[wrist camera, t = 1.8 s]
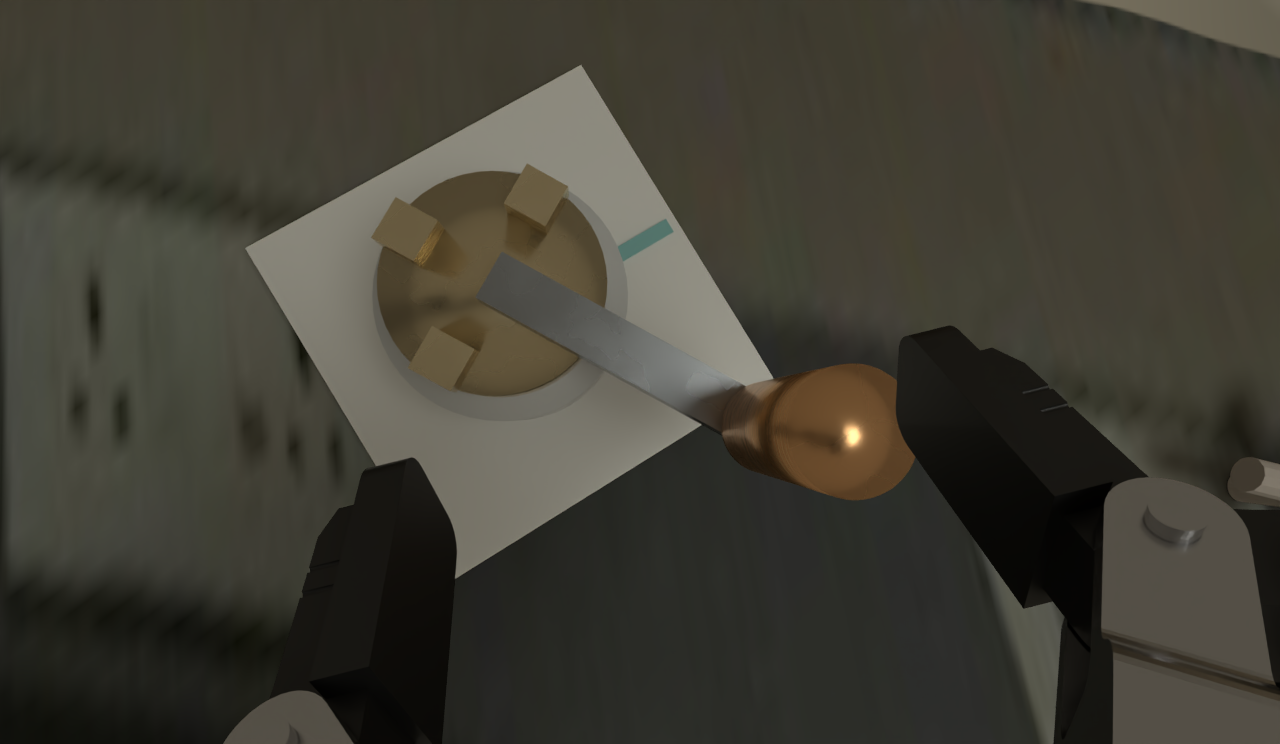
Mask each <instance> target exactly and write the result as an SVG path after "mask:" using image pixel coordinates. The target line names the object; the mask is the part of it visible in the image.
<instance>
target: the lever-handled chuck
mask: <svg viewBox="0 0 1280 744" xmlns="http://www.w3.org/2000/svg"><path fill="white" fill-rule="evenodd" d="M568 197H569V191H568V186H567V185H565V184H563V183H561V182H559V181H558V180H556V179H554V178H552V177H551V176H549V175H547V174H545V173H543V172H542V171H540V170H538V169H536V168H534V167H533V166H531V165H529V164H526V166H525V167H524V169H523V171H522V173H521V174H516V173H511V172H503V171H480V172H473V173H468V174H462V175H459V176H456V177H453V178H450V179H447V180H445V181H443V182H441V183H439V184H437V185H435V186H433V187H432V188H430V189H429V190H427V191H425V192H424V193H422V194H421V195H420V196H419V197H418V198H416V199H415V200H414V201H413V202H412V203H411V204H410V205H409V204H408V203H406V202H404V201H402V200H400V199H399V198H397V197H395V199H394V200H393V202H392V204H391V205H390V207H389V209H388V210H387V212H386V214H385V215H384V217H383V219H382V220H381V222H380V223H379V225H378V227H377V228H376V230H375V232H374V233H373V235H372V237H371V238H372V239H373V240H374V241H376V242H377V243H378V244H379V245H380V246H382V247H383V248H382V251H381V255H380V259H379V264H378V271H377V295H378V302H379V307H380V311H381V315H382V318H383V320H384V323H385V326H386V328H387V330H388V332H389V334H390V336H391V338H392V340H393V341H394V343H395V344H396V346H397V347H398V348H399V350H400V351H401V353H402V354H403V355H404V356H405V357H406V358H407V359H408V360H409V361H410V362H411V363H410V364H409V366H408V369H410V370H412V371H414V372H416V373H418V374H419V375H421V376H423V377H425V378H427V379H429V380H431V381H432V382H434V383H436V384H438V385H440V386H442V387H443V388H445V389H447V390H449V391H451V392H456V393H457V391H458V390H459V391H462V392H465V393H470V394H474V395H480V396H486V397H502V398H503V397H514V396H520V395H525V394H529V393H532V392H535V391H538V390H541V389H543V388H545V387H547V386H549V385H551V384H553V383H555V382H556V381H558V380H559V379H561V378H562V377H564V376H565V375H567V374H568V373H569V372H570V371H571V370H572V369H573V368H574V367H575V366H577V364H578V363H579V362H580V361H581V360H582V359H583V360H585V361H587V362H588V363H590V364H592V365H594V366H596V367H597V368H599V369H601V370H603V371H605V372H607V373H608V374H610V375H612V376H614V377H616V378H618V379H619V380H621V381H623V382H625V383H627V384H629V385H630V386H632V387H634V388H636V389H638V390H639V391H641V392H643V393H645V394H647V395H649V396H650V397H652V398H654V399H656V400H658V401H660V402H661V403H663V404H665V405H667V406H669V407H670V408H672V409H674V410H676V411H678V412H680V413H681V414H683V415H685V416H687V417H689V418H691V419H692V420H694V421H696V422H698V423H700V424H702V425H703V426H705V427H707V428H709V429H711V430H712V431H714V432H716V433H718V434H720V435H722V437H723V441H724V443H725V446H726V448H727V450H728V452H729V453H730V455H731V456H732V457H733V458H734V459H735V460H736V461H737V462H738V463H739V464H740V465H742V466H743V467H745V468H747V469H749V470H751V471H754V472H757V473H761V474H764V475H767V476H770V477H773V478H777V479H780V480H783V481H786V482H789V483H793V484H796V485H799V486H802V487H805V488H809V489H812V490H815V491H818V492H821V493H825V494H828V495H831V496H834V497H837V498H841V499H847V500H863V499H869V498H873V497H876V496H878V495H881V494H883V493H885V492H887V491H888V490H890V489H891V488H893V487H894V486H895V485H897V484H898V483H899V482H900V481H901V480H902V479H903V478H904V476H905V475H906V474H907V472H908V471H909V469H910V468H911V466H912V464H913V462H914V459H915V456H914V454H913V453H912V451H911V450H910V449H909V447H908V446H907V444H906V443H905V441H904V439H903V437H902V434H901V432H900V429H899V426H898V422H897V417H896V391H897V381H896V380H895V379H894V378H892V377H891V376H890V375H888V374H887V373H885V372H883V371H881V370H879V369H877V368H874V367H871V366H868V365H863V364H841V365H837V366H832V367H827V368H823V369H818V370H813V371H808V372H804V373H799V374H794V375H790V376H785V377H780V378H775V379H771V380H766V381H761V382H757V383H753V384H750V385H747V386H745V385H743V384H741V383H739V382H737V381H736V380H734V379H732V378H730V377H728V376H727V375H725V374H723V373H721V372H719V371H717V370H716V369H714V368H712V367H710V366H708V365H707V364H705V363H703V362H701V361H699V360H698V359H696V358H694V357H692V356H690V355H688V354H687V353H685V352H683V351H681V350H679V349H678V348H676V347H674V346H672V345H670V344H669V343H667V342H665V341H663V340H661V339H659V338H658V337H656V336H654V335H652V334H650V333H649V332H647V331H645V330H643V329H641V328H640V327H638V326H636V325H634V324H632V323H630V322H629V321H627V320H625V319H623V318H621V317H620V316H618V315H616V314H614V313H612V312H611V311H609V310H607V309H605V303H606V297H607V271H606V264H605V259H604V255H603V251H602V248H601V246H600V243H599V240H598V238H597V236H596V234H595V232H594V230H593V228H592V226H591V225H590V223H589V222H588V221H587V219H586V218H585V216H584V215H583V214H582V212H581V211H580V210H579V209H578V208H577V207H576V206H575V205H574V204H573V203H572V202H571V201H570V200H569V199H568Z"/></svg>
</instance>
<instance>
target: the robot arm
mask: <svg viewBox="0 0 1280 744" xmlns="http://www.w3.org/2000/svg"><path fill="white" fill-rule="evenodd" d="M896 417H897V422H898V426H899V429H900V432H901V434H902V437H903V439H904V441H905V443H906V444H907V446H908V447H909V449H910V450H911V451H912V453H913V454H914V456H915V457H916V458H917V460H918V461H919V463H920V464H921V465H922V467H923V468H924V470H925V471H926V472H927V474H928V475H929V477H930V478H931V479H932V481H933V482H934V484H935V485H936V486H937V488H938V489H939V491H940V492H941V493H942V495H943V496H944V498H945V499H946V500H947V502H948V503H949V505H950V506H951V507H952V509H953V510H954V512H955V513H956V514H957V516H958V517H959V519H960V520H961V521H962V523H963V524H964V526H965V527H966V528H967V530H968V531H969V533H970V534H971V535H972V537H973V538H974V540H975V541H976V542H977V544H978V545H979V547H980V548H981V549H982V551H983V552H984V554H985V555H986V556H987V558H988V559H989V561H990V562H991V564H992V565H993V566H994V568H995V569H996V571H997V572H998V573H999V575H1000V576H1001V578H1002V579H1003V580H1004V582H1005V583H1006V585H1007V586H1008V587H1009V589H1010V590H1011V592H1012V593H1013V594H1014V596H1015V597H1016V599H1017V600H1018V601H1019V603H1020V604H1021V606H1022V607H1023V608H1028V607H1032V606H1036V605H1040V604H1044V603H1048V602H1052V601H1053V602H1054V603H1055V605H1056V606H1057V607H1058V609H1059V610H1060V611H1061V613H1062V614H1063V615H1064V617H1065V618H1064V621H1063V624H1062V629H1061V642H1060V657H1059V671H1058V686H1057V701H1056V715H1055V730H1054V744H1280V510H1240V509H1232V508H1231V507H1230V506H1229V505H1227V504H1226V503H1225V502H1223V501H1222V500H1220V499H1219V498H1218V497H1216V496H1214V495H1212V494H1211V493H1209V492H1207V491H1205V490H1203V489H1200V488H1198V487H1196V486H1193V485H1190V484H1187V483H1184V482H1180V481H1176V480H1172V479H1165V478H1154V477H1148V476H1147V475H1146V474H1145V473H1144V472H1142V471H1141V470H1140V469H1139V468H1138V467H1137V466H1136V465H1135V464H1134V463H1133V462H1132V461H1131V460H1129V459H1128V458H1127V457H1126V456H1125V455H1124V454H1123V453H1122V452H1121V451H1120V450H1119V449H1118V448H1116V447H1115V446H1114V445H1113V444H1112V443H1111V442H1110V441H1109V440H1108V439H1107V438H1106V437H1104V436H1103V435H1102V434H1101V433H1100V432H1099V431H1098V430H1097V429H1096V428H1095V427H1094V426H1093V425H1091V424H1090V423H1089V422H1088V421H1087V420H1086V419H1085V418H1084V417H1083V416H1082V415H1081V414H1080V413H1078V412H1077V411H1076V410H1075V409H1074V408H1073V407H1070V408H1069V407H1068V405H1067V402H1066V401H1065V400H1064V399H1063V398H1062V397H1061V396H1060V395H1059V394H1058V393H1057V392H1056V391H1055V390H1053V389H1049V388H1048V384H1047V383H1046V382H1045V381H1044V380H1043V379H1042V378H1040V377H1039V376H1038V375H1037V374H1036V373H1035V372H1034V371H1033V370H1032V369H1031V368H1030V367H1028V366H1027V365H1026V364H1025V363H1023V362H1021V361H1019V360H1017V359H1015V358H1013V357H1011V356H1009V355H1006V354H1004V353H1002V352H1000V351H998V350H996V349H994V348H989V349H985V350H981V351H980V350H979V349H978V348H977V347H976V346H975V345H974V344H973V343H972V342H971V341H970V340H969V339H968V338H967V337H966V336H964V335H963V334H962V333H961V332H960V331H959V330H958V329H957V328H955V327H954V326H945V327H941V328H937V329H933V330H929V331H925V332H921V333H917V334H913V335H909V336H905V337H903V338H902V340H901V342H900V345H899V356H898V374H897V391H896ZM456 561H457V545H456V538H455V533H454V529H453V526H452V523H451V520H450V518H449V516H448V514H447V512H446V511H445V509H444V507H443V505H442V503H441V501H440V500H439V498H438V496H437V494H436V492H435V490H434V488H433V487H432V485H431V483H430V481H429V479H428V477H427V476H426V474H425V472H424V470H423V468H422V466H421V465H420V463H419V462H418V461H417V460H416V459H415V458H412V457H411V458H407V459H403V460H399V461H395V462H391V463H387V464H383V465H379V466H374V467H370V468H367V469H365V470H364V471H363V473H362V475H361V479H360V483H359V486H358V490H357V494H356V498H355V502H354V505H351V506H347V507H343V508H339V509H338V510H337V512H336V513H335V514H334V516H333V517H332V519H331V520H330V521H329V523H328V524H327V526H326V527H325V528H324V530H323V531H322V533H321V534H320V535H319V537H318V539H317V543H316V546H315V549H314V553H313V556H312V559H311V563H310V566H309V568H310V573H307V576H306V580H305V583H304V586H303V590H302V593H303V598H300V600H299V603H298V606H297V610H296V613H295V617H294V620H293V623H292V627H291V630H290V633H289V637H288V640H287V643H286V647H285V650H284V654H283V657H282V660H281V664H280V667H279V670H278V674H277V677H276V680H275V684H274V687H273V690H272V693H271V696H270V699H269V700H268V701H266V702H264V703H263V704H261V705H260V706H258V707H257V708H256V709H254V710H253V711H251V712H250V713H249V714H248V715H247V716H246V717H245V718H244V719H243V720H242V721H241V722H240V723H239V724H238V725H237V726H236V727H235V728H234V729H233V731H232V732H231V733H230V735H229V736H228V737H227V739H226V740H225V742H224V743H223V744H442V734H443V722H444V709H445V697H446V685H447V672H448V660H449V648H450V635H451V623H452V611H453V598H454V586H455V574H456Z"/></svg>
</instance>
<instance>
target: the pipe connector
mask: <svg viewBox="0 0 1280 744" xmlns="http://www.w3.org/2000/svg"><path fill="white" fill-rule="evenodd" d="M1227 488H1228V492H1229V494H1230V495H1231V497H1232V498H1233V499H1235V500H1236V501H1239V502H1245V503H1253V504H1261V505H1269V506H1277V507H1280V464H1277V463H1273V462H1269V461H1265V460H1261V459H1257V458H1253V457H1247V458H1242V459H1240V460H1239V461H1237V462H1236V463H1235V464H1234V465H1233V467H1232V470H1231V472H1230V478H1229V480H1228V484H1227Z"/></svg>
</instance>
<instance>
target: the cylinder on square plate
mask: <svg viewBox="0 0 1280 744" xmlns="http://www.w3.org/2000/svg"><path fill="white" fill-rule="evenodd" d="M526 164H529V165H531V166H533V167H534V168H536V169H538V170H540V171H542V172H543V173H545V174H547V175H549V176H551V177H552V178H554V179H556V180H558V181H559V182H561V183H563V184H565V185H567V186H568V191H569V197H568V199H569V200H570V201H571V202H572V203H573V204H574V205H575V206H576V207H577V208H578V209H579V210H580V211H581V212H582V214H583V215H584V216H585V218H586V219H587V221H588V222H589V223H590V225H591V226H592V228H593V230H594V232H595V234H596V236H597V238H598V240H599V243H600V246H601V248H602V251H603V255H604V259H605V264H606V271H607V297H606V303H605V309H607V310H609V311H611V312H612V313H614V314H616V315H618V316H620V317H621V318H623V319H625V320H627V321H629V322H630V323H632V324H634V325H636V326H638V327H640V328H641V329H643V330H645V331H647V332H649V333H650V334H652V335H654V336H656V337H658V338H659V339H661V340H663V341H665V342H667V343H669V344H670V345H672V346H674V347H676V348H678V349H679V350H681V351H683V352H685V353H687V354H688V355H690V356H692V357H694V358H696V359H698V360H699V361H701V362H703V363H705V364H707V365H708V366H710V367H712V368H714V369H716V370H717V371H719V372H721V373H723V374H725V375H727V376H728V377H730V378H732V379H734V380H736V381H737V382H739V383H741V384H743V385H745V386H747V385H750V384H753V383H757V382H761V381H766V380H771V379H774V378H773V377H772V375H771V374H770V372H769V370H768V369H767V367H766V365H765V364H764V362H763V361H762V359H761V357H760V356H759V354H758V352H757V351H756V349H755V347H754V346H753V344H752V343H751V341H750V339H749V338H748V336H747V334H746V333H745V331H744V330H743V328H742V326H741V325H740V323H739V321H738V320H737V318H736V317H735V315H734V313H733V312H732V310H731V308H730V307H729V305H728V304H727V302H726V300H725V299H724V297H723V295H722V294H721V292H720V290H719V289H718V287H717V286H716V284H715V282H714V281H713V279H712V277H711V276H710V274H709V273H708V271H707V269H706V268H705V266H704V264H703V263H702V261H701V260H700V258H699V256H698V255H697V253H696V251H695V250H694V248H693V247H692V245H691V243H690V242H689V240H688V238H687V237H686V235H685V234H684V232H683V230H682V229H681V227H680V225H679V224H678V222H677V220H676V219H675V217H674V216H673V214H672V212H671V211H670V209H669V207H668V206H667V204H666V203H665V201H664V199H663V198H662V196H661V194H660V193H659V191H658V190H657V188H656V186H655V185H654V183H653V181H652V180H651V178H650V177H649V175H648V173H647V172H646V170H645V168H644V167H643V165H642V164H641V162H640V160H639V159H638V157H637V155H636V154H635V152H634V150H633V149H632V147H631V146H630V144H629V142H628V141H627V139H626V137H625V136H624V134H623V133H622V131H621V129H620V128H619V126H618V124H617V123H616V121H615V120H614V118H613V116H612V115H611V113H610V111H609V110H608V108H607V107H606V105H605V103H604V102H603V100H602V98H601V97H600V95H599V93H598V92H597V90H596V89H595V87H594V85H593V84H592V82H591V80H590V79H589V77H588V76H587V74H586V72H585V71H584V69H583V67H582V66H581V65H580V66H578V67H576V68H575V69H573V70H571V71H569V72H567V73H565V74H564V75H562V76H560V77H558V78H556V79H554V80H553V81H551V82H549V83H547V84H545V85H543V86H542V87H540V88H538V89H536V90H534V91H532V92H531V93H529V94H527V95H525V96H523V97H521V98H520V99H518V100H516V101H514V102H512V103H510V104H509V105H507V106H505V107H503V108H501V109H499V110H498V111H496V112H494V113H492V114H490V115H488V116H487V117H485V118H483V119H481V120H479V121H477V122H476V123H474V124H472V125H470V126H468V127H466V128H465V129H463V130H461V131H459V132H457V133H455V134H454V135H452V136H450V137H448V138H446V139H444V140H443V141H441V142H439V143H437V144H435V145H433V146H432V147H430V148H428V149H426V150H424V151H422V152H421V153H419V154H417V155H415V156H413V157H411V158H410V159H408V160H406V161H404V162H402V163H400V164H399V165H397V166H395V167H393V168H391V169H389V170H388V171H386V172H384V173H382V174H380V175H378V176H377V177H375V178H373V179H371V180H369V181H367V182H366V183H364V184H362V185H360V186H358V187H356V188H355V189H353V190H351V191H349V192H347V193H345V194H344V195H342V196H340V197H338V198H336V199H334V200H333V201H331V202H329V203H327V204H325V205H323V206H322V207H320V208H318V209H316V210H314V211H312V212H311V213H309V214H307V215H305V216H303V217H301V218H300V219H298V220H296V221H294V222H292V223H290V224H289V225H287V226H285V227H283V228H281V229H279V230H278V231H276V232H274V233H272V234H270V235H268V236H267V237H265V238H263V239H261V240H259V241H257V242H256V243H254V244H252V245H250V246H248V247H246V248H245V249H246V250H247V252H248V254H249V255H250V257H251V259H252V260H253V262H254V264H255V265H256V267H257V269H258V270H259V272H260V274H261V275H262V277H263V279H264V280H265V282H266V284H267V285H268V287H269V289H270V290H271V292H272V294H273V295H274V297H275V299H276V300H277V302H278V304H279V305H280V307H281V309H282V310H283V312H284V314H285V315H286V317H287V319H288V320H289V322H290V324H291V325H292V327H293V329H294V330H295V332H296V334H297V335H298V337H299V339H300V340H301V342H302V344H303V345H304V347H305V349H306V350H307V352H308V354H309V355H310V357H311V359H312V360H313V362H314V364H315V365H316V367H317V369H318V370H319V372H320V374H321V375H322V377H323V379H324V380H325V382H326V384H327V385H328V387H329V389H330V390H331V392H332V394H333V395H334V397H335V399H336V400H337V402H338V404H339V405H340V407H341V409H342V410H343V412H344V414H345V415H346V417H347V419H348V420H349V422H350V424H351V425H352V427H353V429H354V430H355V432H356V434H357V435H358V437H359V439H360V440H361V442H362V444H363V445H364V447H365V449H366V450H367V452H368V454H369V455H370V457H371V459H372V460H373V462H374V464H375V465H376V466H379V465H383V464H387V463H391V462H395V461H399V460H403V459H407V458H411V457H412V458H415V459H416V460H417V461H418V462H419V463H420V465H421V466H422V468H423V470H424V472H425V474H426V476H427V477H428V479H429V481H430V483H431V485H432V487H433V488H434V490H435V492H436V494H437V496H438V498H439V500H440V501H441V503H442V505H443V507H444V509H445V511H446V512H447V514H448V516H449V518H450V520H451V523H452V526H453V529H454V533H455V538H456V545H457V561H456V574H455V579H456V578H457V577H459V576H460V575H462V574H464V573H465V572H467V571H468V570H470V569H472V568H473V567H475V566H476V565H478V564H480V563H481V562H483V561H485V560H486V559H488V558H489V557H491V556H493V555H494V554H496V553H497V552H499V551H501V550H502V549H504V548H505V547H507V546H509V545H510V544H512V543H513V542H515V541H517V540H518V539H520V538H521V537H523V536H525V535H526V534H528V533H529V532H531V531H533V530H534V529H536V528H537V527H539V526H541V525H542V524H544V523H545V522H547V521H549V520H550V519H552V518H553V517H555V516H557V515H558V514H560V513H561V512H563V511H565V510H566V509H568V508H569V507H571V506H573V505H574V504H576V503H577V502H579V501H581V500H582V499H584V498H585V497H587V496H589V495H590V494H592V493H593V492H595V491H597V490H598V489H600V488H601V487H603V486H605V485H606V484H608V483H609V482H611V481H613V480H614V479H616V478H617V477H619V476H621V475H622V474H624V473H625V472H627V471H629V470H630V469H632V468H633V467H635V466H637V465H638V464H640V463H641V462H643V461H645V460H646V459H648V458H649V457H651V456H653V455H654V454H656V453H657V452H659V451H661V450H662V449H664V448H665V447H667V446H669V445H670V444H672V443H673V442H675V441H677V440H678V439H680V438H681V437H683V436H685V435H686V434H688V433H689V432H691V431H693V430H694V429H696V428H697V427H699V426H701V425H702V424H700V423H698V422H696V421H694V420H692V419H691V418H689V417H687V416H685V415H683V414H681V413H680V412H678V411H676V410H674V409H672V408H670V407H669V406H667V405H665V404H663V403H661V402H660V401H658V400H656V399H654V398H652V397H650V396H649V395H647V394H645V393H643V392H641V391H639V390H638V389H636V388H634V387H632V386H630V385H629V384H627V383H625V382H623V381H621V380H619V379H618V378H616V377H614V376H612V375H610V374H608V373H607V372H605V371H603V370H601V369H599V368H597V367H596V366H594V365H592V364H590V363H588V362H587V361H585V360H583V359H582V360H581V361H580V362H579V363H578V364H577V366H575V367H574V368H573V369H572V370H571V371H570V372H569V373H568V374H567V375H565V376H564V377H562V378H561V379H559V380H558V381H556V382H555V383H553V384H551V385H549V386H547V387H545V388H543V389H541V390H538V391H535V392H532V393H529V394H525V395H520V396H514V397H503V398H502V397H486V396H480V395H474V394H470V393H465V392H462V391H459V390H458V391H457V393H456V392H451V391H449V390H447V389H445V388H443V387H442V386H440V385H438V384H436V383H434V382H432V381H431V380H429V379H427V378H425V377H423V376H421V375H419V374H418V373H416V372H414V371H412V370H410V369H408V366H409V364H410V363H411V362H410V361H409V360H408V359H407V358H406V357H405V356H404V355H403V354H402V353H401V351H400V350H399V348H398V347H397V346H396V344H395V343H394V341H393V340H392V338H391V336H390V334H389V332H388V330H387V328H386V326H385V323H384V320H383V318H382V315H381V311H380V307H379V302H378V295H377V271H378V264H379V259H380V255H381V251H382V248H383V247H382V246H380V245H379V244H378V243H377V242H376V241H374V240H373V239H372V238H371V237H372V235H373V233H374V232H375V230H376V228H377V227H378V225H379V223H380V222H381V220H382V219H383V217H384V215H385V214H386V212H387V210H388V209H389V207H390V205H391V204H392V202H393V200H394V199H395V197H397V198H399V199H400V200H402V201H404V202H406V203H408V204H409V205H410V204H411V203H412V202H413V201H414V200H415V199H416V198H418V197H419V196H420V195H421V194H422V193H424V192H425V191H427V190H429V189H430V188H432V187H433V186H435V185H437V184H439V183H441V182H443V181H445V180H447V179H450V178H453V177H456V176H459V175H462V174H468V173H473V172H480V171H503V172H511V173H516V174H521V173H522V171H523V169H524V167H525V166H526Z"/></svg>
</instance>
